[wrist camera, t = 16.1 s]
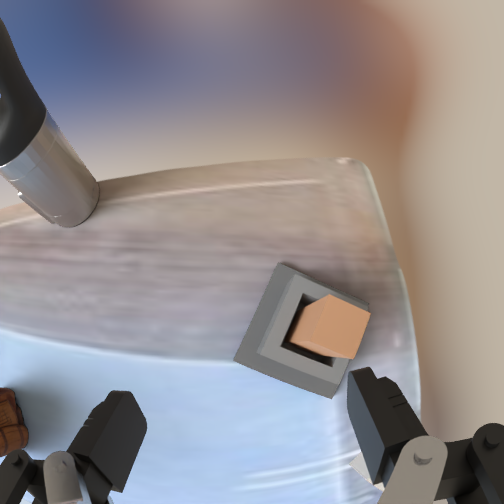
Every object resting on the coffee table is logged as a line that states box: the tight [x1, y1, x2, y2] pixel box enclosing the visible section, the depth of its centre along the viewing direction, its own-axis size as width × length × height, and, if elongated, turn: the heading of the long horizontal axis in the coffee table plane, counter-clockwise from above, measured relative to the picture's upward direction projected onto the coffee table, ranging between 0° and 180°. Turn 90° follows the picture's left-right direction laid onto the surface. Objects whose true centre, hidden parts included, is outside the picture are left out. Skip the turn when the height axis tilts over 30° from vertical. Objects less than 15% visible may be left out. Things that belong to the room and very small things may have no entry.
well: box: [233, 263, 369, 399], centre depth 30 cm, size 13×13×6 cm
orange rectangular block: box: [284, 294, 371, 359], centre depth 26 cm, size 4×4×12 cm
